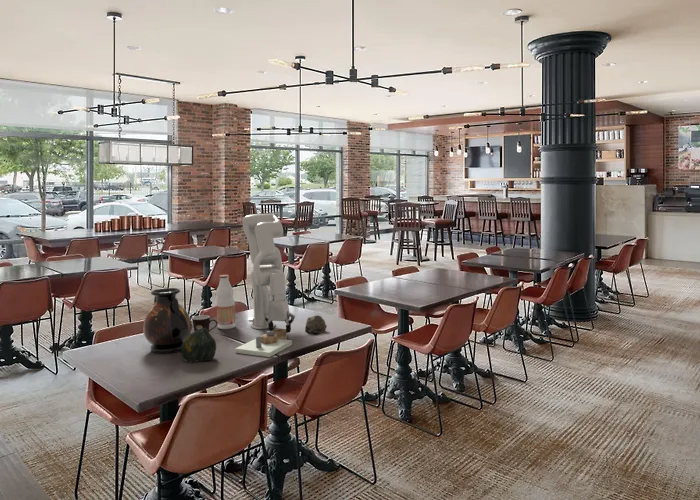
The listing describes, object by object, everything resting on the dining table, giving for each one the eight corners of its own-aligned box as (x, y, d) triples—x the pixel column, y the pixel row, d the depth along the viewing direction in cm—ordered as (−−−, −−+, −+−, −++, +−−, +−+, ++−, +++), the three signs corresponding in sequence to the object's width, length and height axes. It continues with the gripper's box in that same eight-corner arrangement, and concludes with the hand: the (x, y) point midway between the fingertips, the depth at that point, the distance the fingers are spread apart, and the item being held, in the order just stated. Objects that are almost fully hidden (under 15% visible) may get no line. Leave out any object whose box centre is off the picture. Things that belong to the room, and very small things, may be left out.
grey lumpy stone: (317, 334, 280) (309, 316, 281) (305, 340, 285) (297, 322, 287) (330, 329, 288) (323, 311, 290) (319, 334, 294) (311, 317, 295)
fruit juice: (222, 330, 293) (220, 277, 290) (214, 327, 300) (211, 275, 297) (238, 327, 299) (236, 275, 296) (230, 323, 306) (228, 273, 303)
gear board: (235, 352, 255) (234, 337, 254) (259, 340, 273) (259, 326, 272) (269, 357, 247) (268, 341, 247) (292, 344, 266) (291, 329, 265)
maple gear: (269, 339, 275) (268, 331, 274) (276, 335, 281) (276, 328, 281) (282, 341, 272) (282, 333, 271) (289, 337, 278) (289, 329, 278)
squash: (170, 348, 244) (184, 326, 238) (197, 341, 257) (211, 320, 250) (187, 374, 239) (202, 352, 233) (213, 365, 252) (229, 344, 245)
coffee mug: (189, 338, 280) (188, 318, 279) (201, 333, 288) (200, 314, 286) (207, 340, 275) (206, 320, 273) (219, 336, 282) (218, 316, 281)
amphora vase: (202, 347, 263) (198, 289, 260) (160, 359, 247) (156, 297, 244) (177, 339, 278) (174, 284, 274) (136, 350, 262) (131, 291, 258)
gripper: (258, 297, 274) (260, 332, 275) (289, 299, 267) (291, 334, 268) (267, 295, 280) (268, 328, 282) (297, 296, 273) (299, 331, 275)
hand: (279, 331), depth 275 cm, fingers open, 9 cm apart
